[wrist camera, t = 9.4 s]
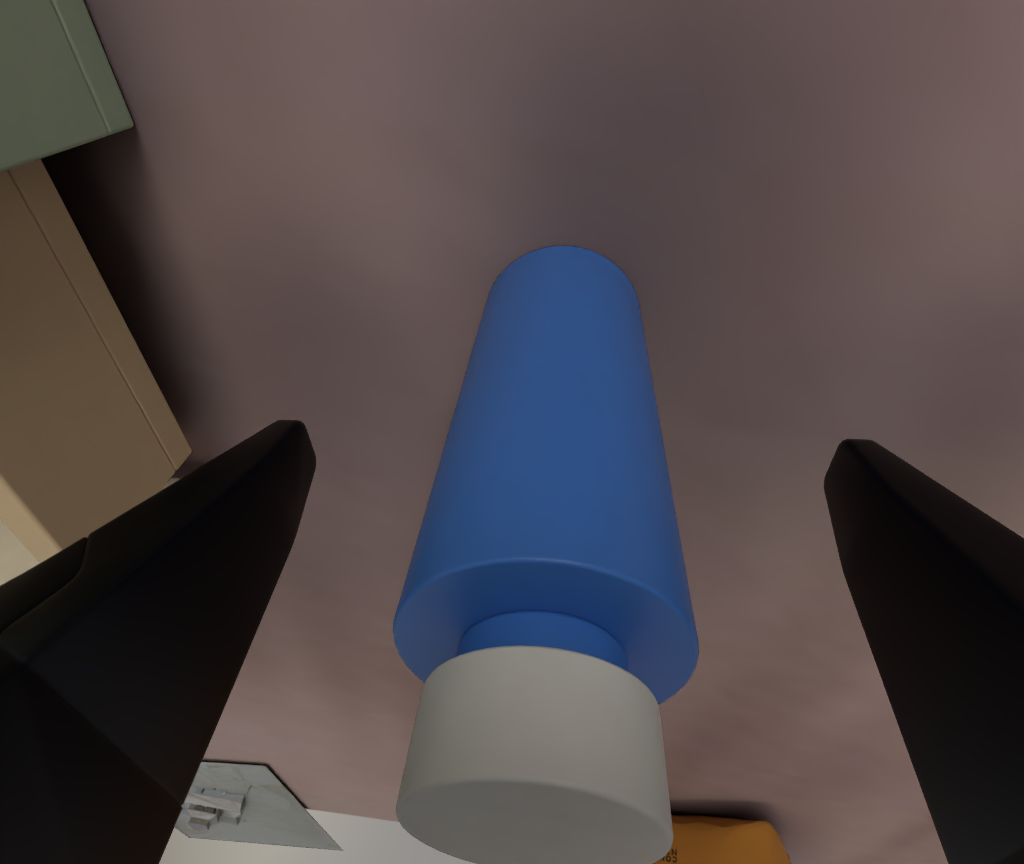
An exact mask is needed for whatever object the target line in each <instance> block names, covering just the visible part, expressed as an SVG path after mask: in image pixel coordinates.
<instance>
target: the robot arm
mask: <svg viewBox="0 0 1024 864" xmlns="http://www.w3.org/2000/svg"><path fill="white" fill-rule="evenodd" d="M315 468H316V456H315V452H314V449H313V447H312V444H311V441H310V438H309V435H308V432H307V429H306V426H305V425H304V423H303V422H301V421H298V420H278V421H276V422H274V423H272V424H271V425H269V426H268V427H266V428H264V429H263V430H261V431H259V432H258V433H256V434H254V435H253V436H251V437H249V438H248V439H246V440H244V441H243V442H241V443H239V444H238V445H236V446H234V447H233V448H231V449H229V450H228V451H226V452H224V453H223V454H221V455H219V456H218V457H216V458H214V459H213V460H211V461H209V462H208V463H206V464H204V465H203V466H201V467H199V468H198V469H196V470H194V471H193V472H191V473H190V474H188V475H186V476H185V477H183V478H181V479H180V480H178V481H176V482H175V483H173V484H171V485H170V486H168V487H166V488H165V489H163V490H161V491H160V492H158V493H156V494H155V495H153V496H151V497H150V498H148V499H146V500H145V501H143V502H141V503H140V504H138V505H136V506H135V507H133V508H131V509H130V510H128V511H126V512H125V513H123V514H121V515H120V516H118V517H116V518H115V519H113V520H111V521H110V522H108V523H107V524H105V525H103V526H102V527H100V528H98V529H97V530H95V531H93V532H92V533H90V534H89V536H88V538H87V537H83V538H81V539H80V540H78V541H76V542H75V543H73V544H72V545H70V546H68V547H67V548H65V549H63V550H62V551H60V552H58V553H57V554H55V555H53V556H51V557H50V558H48V559H46V560H45V561H43V562H41V563H39V564H38V565H36V566H34V567H33V568H31V569H29V570H27V571H26V572H24V573H22V574H20V575H19V576H17V577H15V578H13V579H11V580H9V581H8V582H6V583H4V584H2V585H0V864H159V862H160V860H161V857H162V855H163V852H164V850H165V848H166V845H167V843H168V841H169V838H170V836H171V833H172V831H173V829H174V827H175V824H176V822H177V819H178V817H179V815H180V812H181V810H182V806H181V805H183V804H184V802H185V799H186V797H187V795H188V792H189V790H190V788H191V785H192V783H193V781H194V778H195V776H196V773H197V771H198V769H199V766H200V764H201V762H202V759H203V757H204V754H205V752H206V750H207V747H208V745H209V743H210V740H211V738H212V735H213V733H214V731H215V728H216V726H217V724H218V721H219V719H220V717H221V714H222V712H223V709H224V707H225V705H226V702H227V700H228V698H229V695H230V693H231V690H232V688H233V686H234V683H235V681H236V679H237V676H238V674H239V671H240V669H241V667H242V664H243V662H244V660H245V657H246V655H247V653H248V650H249V648H250V645H251V643H252V641H253V638H254V636H255V634H256V631H257V629H258V626H259V624H260V622H261V619H262V617H263V615H264V612H265V610H266V607H267V605H268V603H269V600H270V598H271V596H272V593H273V591H274V589H275V586H276V584H277V581H278V579H279V577H280V574H281V572H282V570H283V567H284V565H285V562H286V560H287V558H288V555H289V553H290V550H291V548H292V545H293V543H294V540H295V537H296V534H297V531H298V527H299V524H300V520H301V517H302V513H303V510H304V507H305V503H306V500H307V496H308V493H309V489H310V486H311V482H312V479H313V476H314V472H315ZM824 491H825V495H826V500H827V504H828V509H829V513H830V517H831V522H832V526H833V531H834V535H835V539H836V544H837V548H838V553H839V557H840V561H841V565H842V569H843V572H844V575H845V578H846V581H847V584H848V587H849V590H850V593H851V596H852V598H853V601H854V604H855V607H856V609H857V612H858V615H859V618H860V620H861V623H862V626H863V629H864V631H865V634H866V637H867V640H868V643H869V645H870V648H871V651H872V654H873V656H874V659H875V662H876V665H877V667H878V670H879V673H880V676H881V678H882V681H883V684H884V687H885V689H886V692H887V695H888V698H889V701H890V703H891V706H892V709H893V712H894V714H895V717H896V720H897V723H898V725H899V728H900V731H901V734H902V736H903V739H904V742H905V745H906V748H907V750H908V753H909V756H910V759H911V761H912V764H913V767H914V770H915V772H916V775H917V778H918V781H919V783H920V786H921V789H922V792H923V794H924V797H925V800H926V803H927V806H928V808H929V811H930V814H931V817H932V819H933V822H934V825H935V828H936V830H937V833H938V836H939V839H940V841H941V844H942V847H943V850H944V852H945V855H946V858H947V861H948V864H1024V538H1022V537H1021V536H1019V535H1018V534H1016V533H1015V532H1013V531H1012V530H1010V529H1009V528H1007V527H1005V526H1004V525H1002V524H1001V523H999V522H998V521H996V520H995V519H993V518H992V517H990V516H988V515H987V514H985V513H984V512H982V511H981V510H979V509H978V508H976V507H975V506H973V505H971V504H970V503H968V502H967V501H965V500H964V499H962V498H961V497H959V496H958V495H956V494H955V493H953V492H951V491H950V490H948V489H947V488H945V487H944V486H942V485H941V484H939V483H938V482H936V481H934V480H933V479H931V478H930V477H928V476H927V475H925V474H924V473H922V472H921V471H919V470H918V469H916V468H914V467H913V466H911V465H910V464H908V463H907V462H905V461H904V460H902V459H901V458H899V457H897V456H896V455H894V454H893V453H891V452H890V451H888V450H887V449H885V448H884V447H882V446H881V445H879V444H877V443H876V442H874V441H872V440H865V439H846V440H843V441H842V442H841V443H840V444H839V446H838V448H837V450H836V452H835V455H834V457H833V459H832V461H831V464H830V466H829V468H828V471H827V473H826V476H825V480H824Z"/></svg>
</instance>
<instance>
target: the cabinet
mask: <svg viewBox="0 0 1024 864" xmlns="http://www.w3.org/2000/svg"><path fill="white" fill-rule="evenodd" d="M132 127H133V121H132V118H131V116H130V114H129V111H128V109H127V106H126V104H125V101H124V99H123V96H122V94H121V91H120V89H119V87H118V84H117V82H116V79H115V77H114V74H113V72H112V69H111V67H110V64H109V62H108V60H107V57H106V55H105V52H104V50H103V47H102V45H101V42H100V40H99V37H98V35H97V33H96V30H95V28H94V25H93V23H92V20H91V18H90V15H89V13H88V10H87V8H86V6H85V3H84V1H83V0H0V172H3V171H6V170H9V169H12V168H15V167H18V166H21V165H24V164H27V163H30V162H33V161H36V160H39V159H42V158H44V157H47V156H50V155H53V154H56V153H59V152H62V151H65V150H68V149H71V148H74V147H77V146H80V145H83V144H86V143H89V142H92V141H95V140H98V139H101V138H104V137H106V136H107V135H112V134H115V133H118V132H121V131H124V130H127V129H130V128H132Z"/></svg>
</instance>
